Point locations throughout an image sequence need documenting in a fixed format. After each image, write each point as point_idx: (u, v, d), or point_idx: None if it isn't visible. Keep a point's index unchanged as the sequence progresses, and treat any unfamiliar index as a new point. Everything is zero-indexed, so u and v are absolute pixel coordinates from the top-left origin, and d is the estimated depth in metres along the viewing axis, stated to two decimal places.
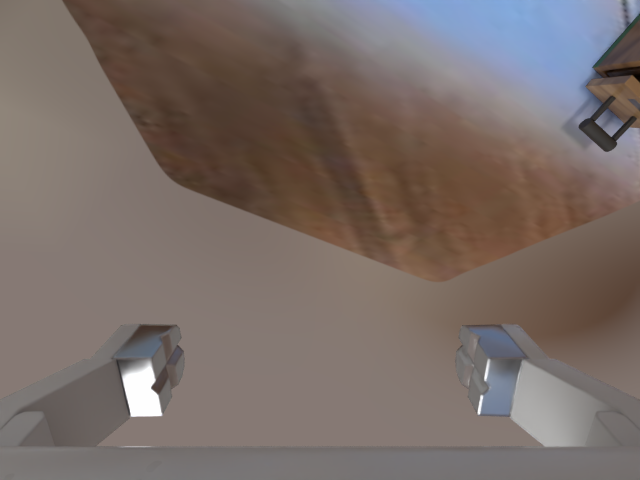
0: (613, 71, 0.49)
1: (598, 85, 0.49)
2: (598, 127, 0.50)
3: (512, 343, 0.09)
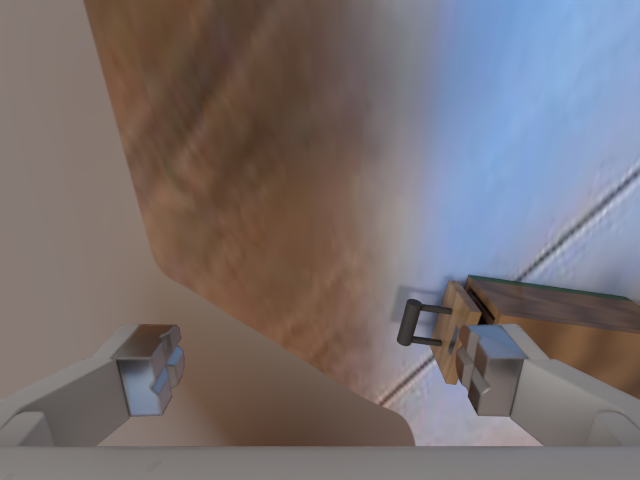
0: (474, 296, 0.43)
1: (455, 290, 0.42)
2: (416, 317, 0.42)
3: (512, 343, 0.09)
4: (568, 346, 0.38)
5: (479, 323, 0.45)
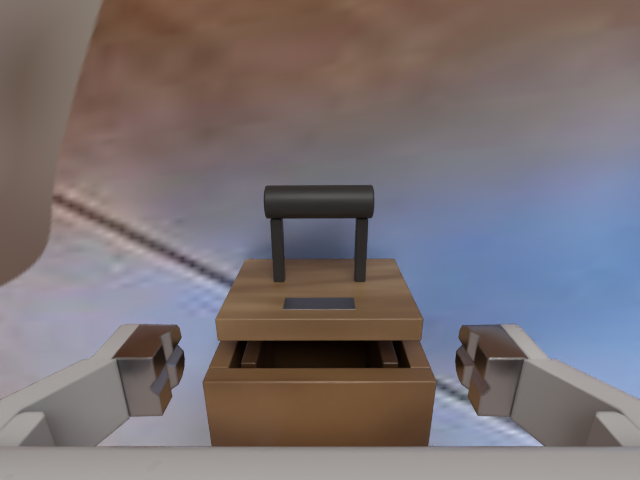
0: None
1: None
2: (342, 214, 0.18)
3: (512, 343, 0.09)
4: None
5: None
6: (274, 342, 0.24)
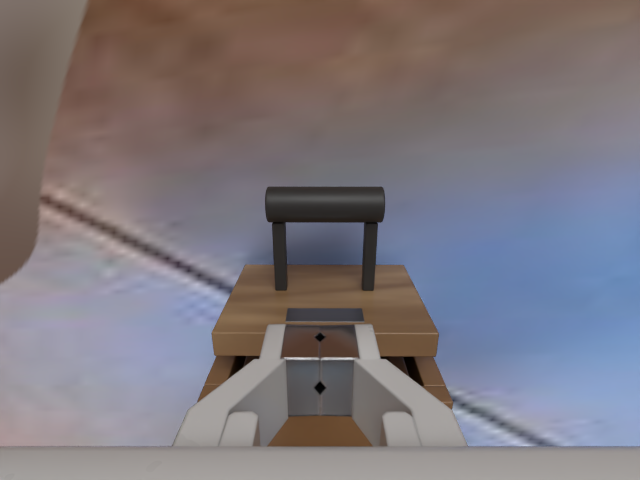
0: None
1: (412, 284, 0.19)
2: (350, 218, 0.17)
3: (353, 343, 0.09)
4: None
5: None
6: None
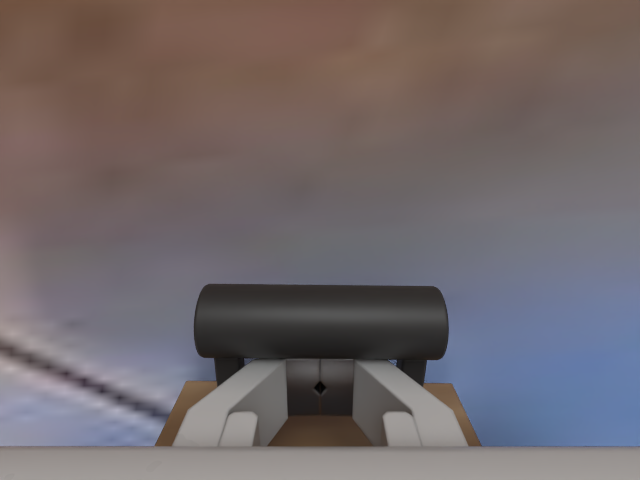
0: None
1: (480, 444, 0.11)
2: (373, 356, 0.08)
3: None
4: None
5: None
6: None
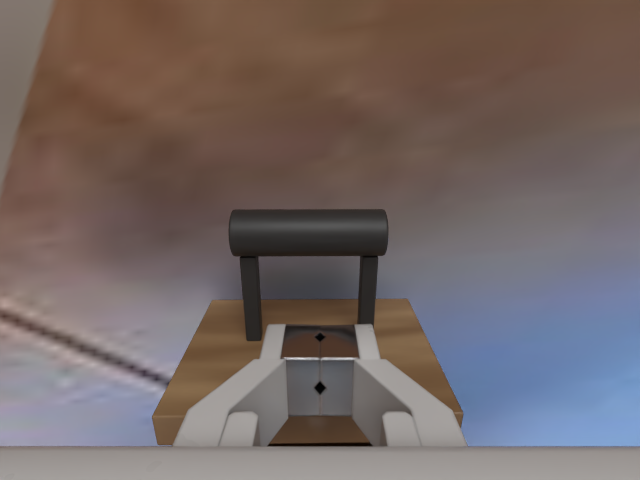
0: None
1: (421, 328, 0.15)
2: (342, 251, 0.13)
3: (353, 343, 0.09)
4: None
5: None
6: None
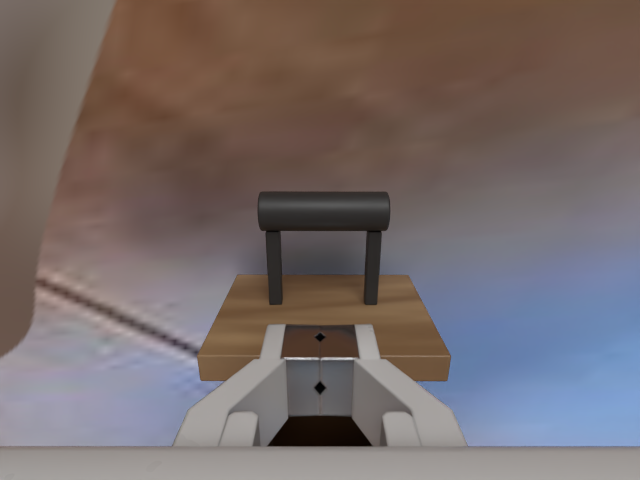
0: None
1: (419, 296, 0.18)
2: (351, 226, 0.15)
3: (353, 343, 0.09)
4: None
5: None
6: None
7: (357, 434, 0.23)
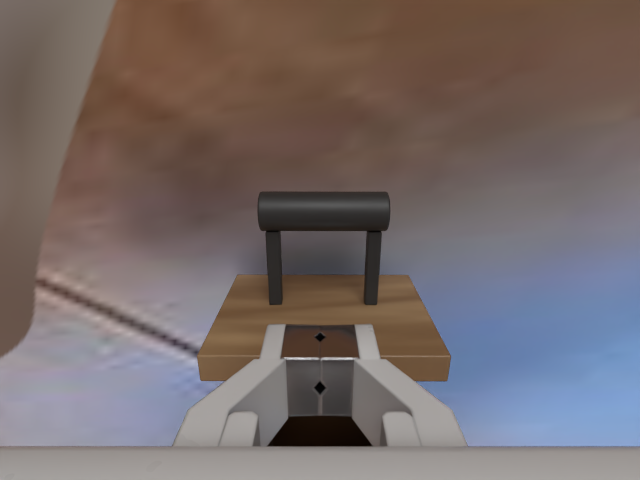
0: None
1: (419, 297, 0.18)
2: (351, 226, 0.15)
3: (353, 343, 0.09)
4: None
5: None
6: None
7: (357, 434, 0.23)
